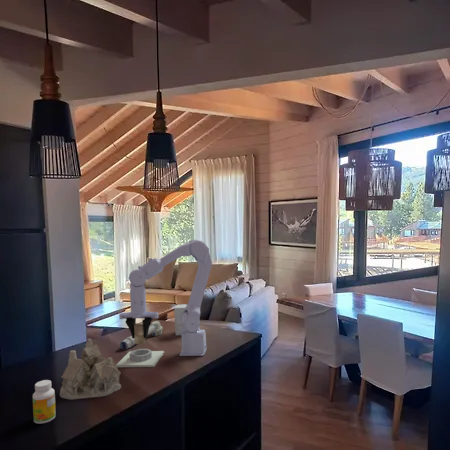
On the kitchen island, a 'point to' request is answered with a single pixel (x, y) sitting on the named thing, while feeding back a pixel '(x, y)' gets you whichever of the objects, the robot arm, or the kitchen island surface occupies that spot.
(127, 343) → the white handheld device
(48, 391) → the supplement bottle
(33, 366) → the kitchen island surface
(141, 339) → the maple peg
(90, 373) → the ceramic cottage
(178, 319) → the supplement box
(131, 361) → the collar plate
